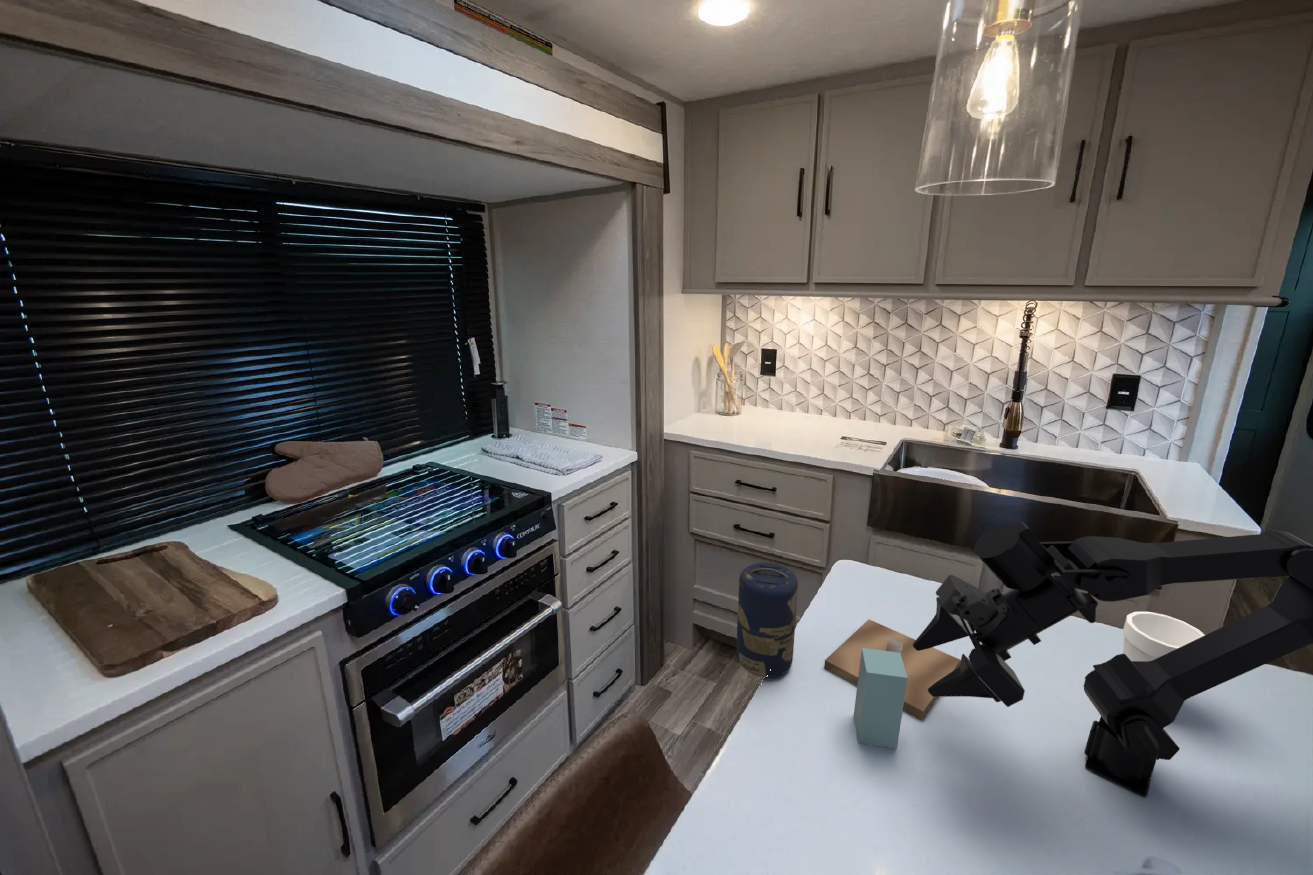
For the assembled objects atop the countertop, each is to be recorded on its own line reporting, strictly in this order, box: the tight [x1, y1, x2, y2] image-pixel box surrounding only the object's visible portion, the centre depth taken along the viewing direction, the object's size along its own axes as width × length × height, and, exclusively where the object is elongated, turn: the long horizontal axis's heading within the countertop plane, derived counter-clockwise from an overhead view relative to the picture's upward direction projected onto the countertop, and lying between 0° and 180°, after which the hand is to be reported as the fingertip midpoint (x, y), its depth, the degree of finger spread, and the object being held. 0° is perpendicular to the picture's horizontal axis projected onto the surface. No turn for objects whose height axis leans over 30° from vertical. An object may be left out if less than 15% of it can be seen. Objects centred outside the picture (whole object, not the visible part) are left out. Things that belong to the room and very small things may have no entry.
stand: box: [823, 618, 961, 721], centre depth 95 cm, size 16×16×5 cm
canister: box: [735, 562, 799, 678], centre depth 94 cm, size 10×10×18 cm
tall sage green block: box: [853, 648, 908, 750], centre depth 81 cm, size 5×5×12 cm
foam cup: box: [1122, 611, 1206, 661], centre depth 86 cm, size 10×9×13 cm
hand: (921, 669), depth 78 cm, fingers open, 9 cm apart
